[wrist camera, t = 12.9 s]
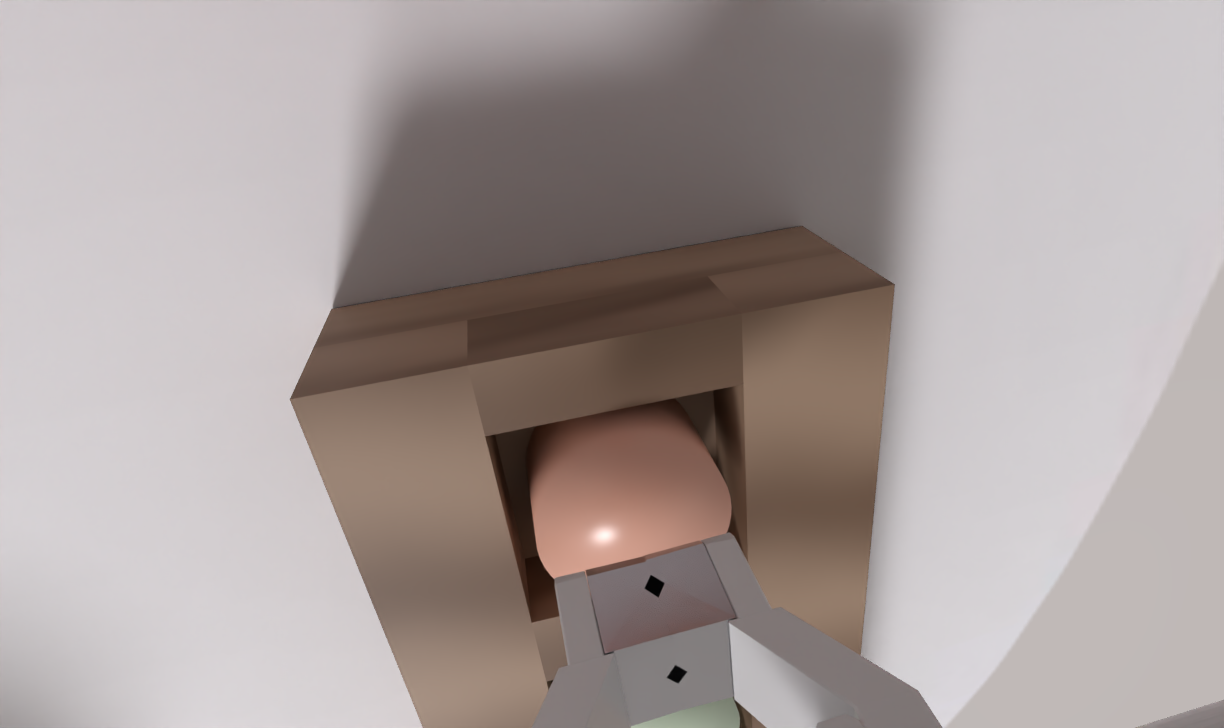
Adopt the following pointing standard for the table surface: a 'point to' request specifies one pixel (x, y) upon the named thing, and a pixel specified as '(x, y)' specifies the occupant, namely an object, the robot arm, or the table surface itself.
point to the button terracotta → (622, 487)
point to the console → (581, 386)
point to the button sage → (699, 717)
